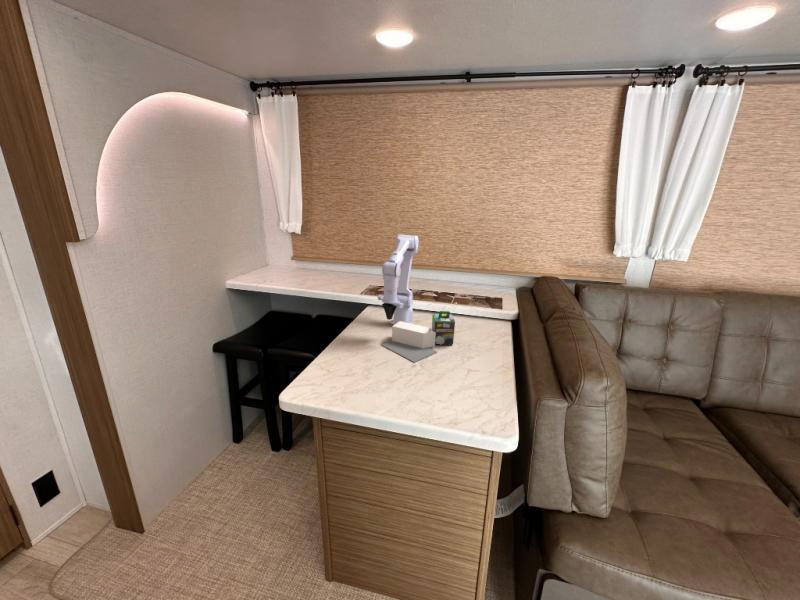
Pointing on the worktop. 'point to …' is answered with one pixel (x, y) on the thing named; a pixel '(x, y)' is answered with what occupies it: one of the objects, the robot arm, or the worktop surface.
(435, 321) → the chalk box
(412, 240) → the robot arm
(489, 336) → the worktop surface
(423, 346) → the cream plain cuboid
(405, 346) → the mat
